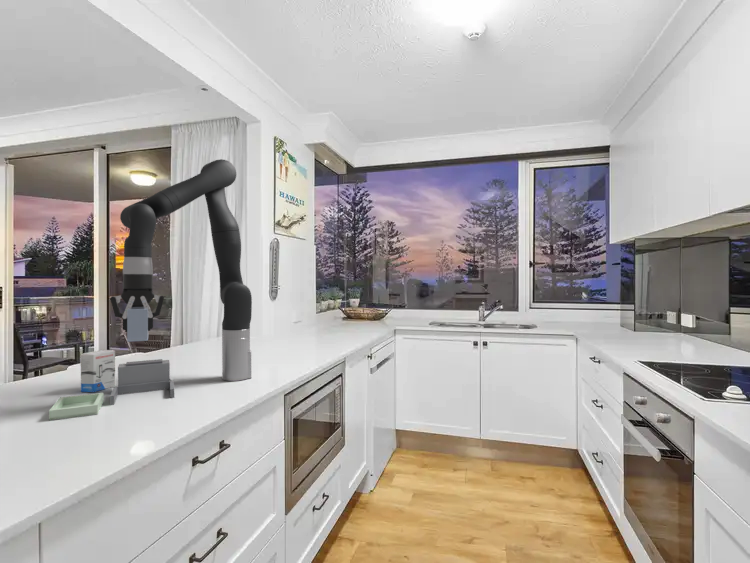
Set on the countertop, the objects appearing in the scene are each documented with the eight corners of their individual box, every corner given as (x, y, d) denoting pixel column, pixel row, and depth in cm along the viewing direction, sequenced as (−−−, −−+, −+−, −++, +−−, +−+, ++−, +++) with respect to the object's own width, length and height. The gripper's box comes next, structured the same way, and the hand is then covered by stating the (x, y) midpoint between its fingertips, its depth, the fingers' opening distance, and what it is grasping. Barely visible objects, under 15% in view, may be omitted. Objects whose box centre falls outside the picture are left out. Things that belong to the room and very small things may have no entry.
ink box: (93, 393, 127) (93, 354, 127) (79, 392, 128) (79, 354, 128) (116, 385, 135) (116, 349, 135) (103, 385, 136) (103, 349, 136)
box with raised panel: (148, 337, 126) (148, 305, 126) (147, 340, 119) (147, 307, 119) (129, 338, 124) (129, 306, 124) (127, 341, 117) (127, 307, 116)
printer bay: (172, 383, 138) (172, 357, 137) (174, 397, 122) (174, 368, 122) (116, 389, 130) (115, 362, 130) (109, 405, 114) (109, 374, 114)
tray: (103, 401, 118) (103, 392, 118) (97, 414, 107) (97, 405, 107) (60, 406, 114) (60, 397, 114) (49, 420, 102) (49, 410, 102)
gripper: (165, 273, 128) (165, 328, 128) (110, 273, 121) (110, 331, 121) (165, 273, 121) (165, 331, 121) (107, 272, 114) (107, 334, 115)
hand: (138, 330), depth 121 cm, fingers closed on box with raised panel, 5 cm apart
